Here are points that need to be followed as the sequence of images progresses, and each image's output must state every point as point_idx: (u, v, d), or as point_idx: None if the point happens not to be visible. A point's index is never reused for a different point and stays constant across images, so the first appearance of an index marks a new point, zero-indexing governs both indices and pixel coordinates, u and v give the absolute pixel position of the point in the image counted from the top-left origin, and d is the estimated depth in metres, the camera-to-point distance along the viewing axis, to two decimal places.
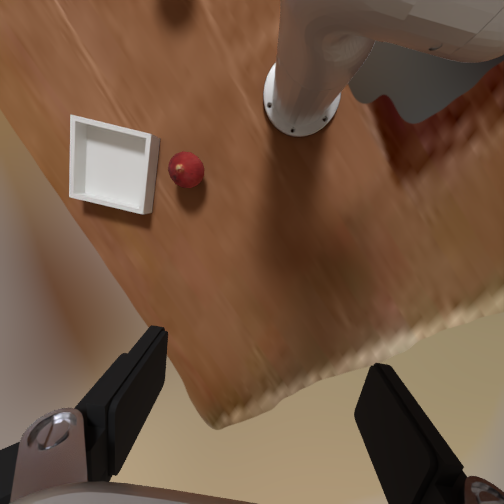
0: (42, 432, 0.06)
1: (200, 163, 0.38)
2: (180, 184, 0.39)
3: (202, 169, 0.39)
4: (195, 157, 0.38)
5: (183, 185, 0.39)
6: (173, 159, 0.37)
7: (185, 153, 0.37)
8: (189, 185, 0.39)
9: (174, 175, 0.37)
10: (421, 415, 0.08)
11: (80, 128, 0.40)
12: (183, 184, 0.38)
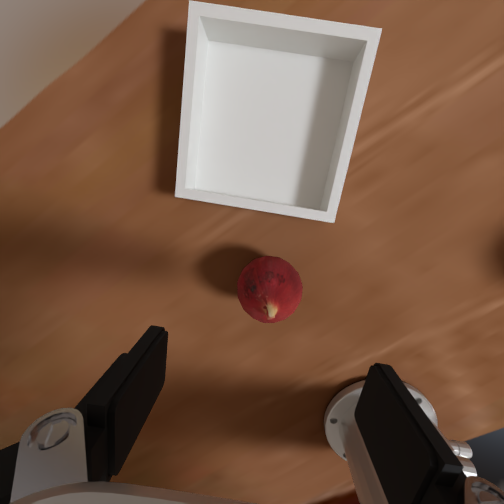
0: (42, 432, 0.06)
1: None
2: (241, 289, 0.19)
3: None
4: None
5: (239, 293, 0.20)
6: (287, 285, 0.18)
7: (299, 299, 0.20)
8: (241, 303, 0.20)
9: (257, 291, 0.18)
10: (421, 415, 0.08)
11: (348, 49, 0.17)
12: (242, 297, 0.19)
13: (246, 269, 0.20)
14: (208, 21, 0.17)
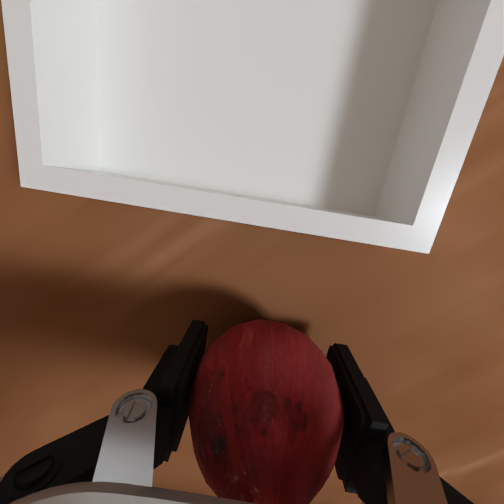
0: (124, 409, 0.07)
1: None
2: (193, 424, 0.08)
3: None
4: None
5: (190, 425, 0.08)
6: (314, 434, 0.07)
7: None
8: None
9: (228, 463, 0.06)
10: (363, 384, 0.08)
11: None
12: (195, 446, 0.08)
13: (208, 365, 0.08)
14: None
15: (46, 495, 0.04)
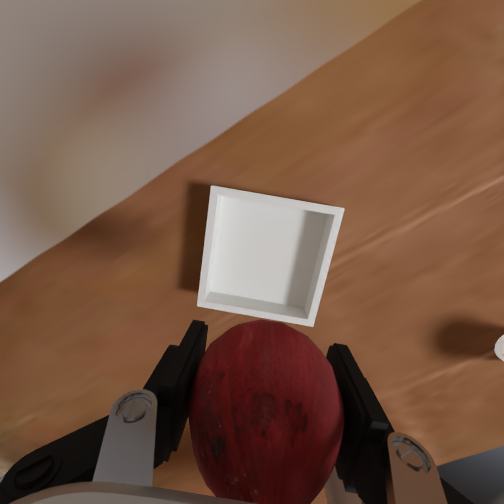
0: (125, 408, 0.07)
1: None
2: (193, 425, 0.08)
3: None
4: None
5: (190, 426, 0.08)
6: (314, 435, 0.06)
7: None
8: None
9: (228, 464, 0.06)
10: (363, 384, 0.09)
11: None
12: (194, 447, 0.08)
13: (208, 366, 0.08)
14: (223, 195, 0.24)
15: (46, 495, 0.04)
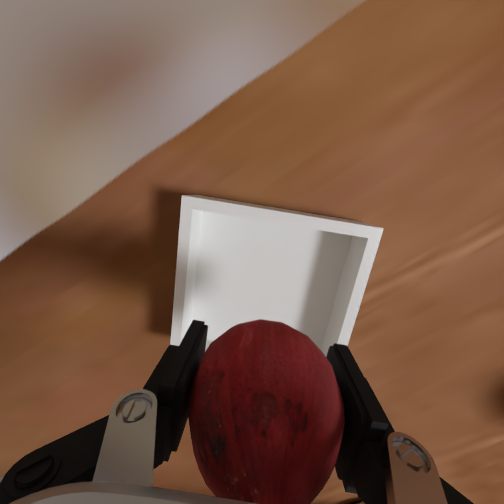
0: (125, 408, 0.07)
1: None
2: (193, 425, 0.08)
3: None
4: None
5: None
6: (314, 435, 0.06)
7: None
8: None
9: (228, 464, 0.06)
10: (363, 384, 0.09)
11: None
12: (194, 446, 0.08)
13: (208, 365, 0.08)
14: None
15: (46, 495, 0.04)
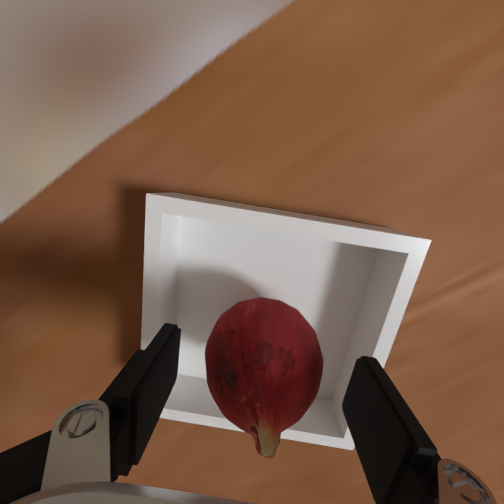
0: (71, 421, 0.06)
1: None
2: (210, 369, 0.10)
3: None
4: None
5: (207, 372, 0.11)
6: (299, 372, 0.09)
7: (318, 386, 0.10)
8: None
9: (238, 389, 0.09)
10: (401, 403, 0.08)
11: None
12: (211, 386, 0.10)
13: (221, 328, 0.11)
14: None
15: (46, 495, 0.04)
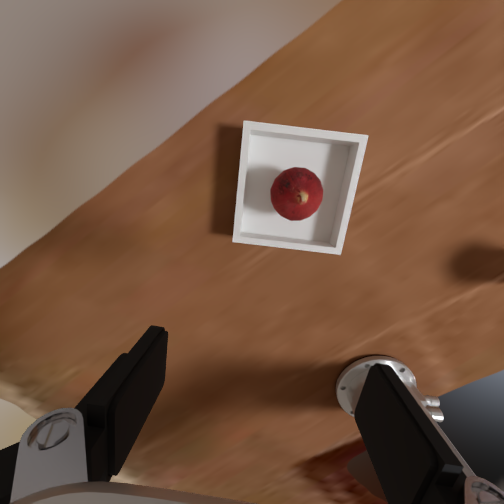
0: (42, 432, 0.06)
1: (306, 217, 0.26)
2: (276, 190, 0.24)
3: (298, 220, 0.26)
4: (315, 211, 0.26)
5: (274, 194, 0.25)
6: (313, 181, 0.23)
7: (321, 197, 0.25)
8: (275, 203, 0.25)
9: (291, 186, 0.23)
10: (421, 415, 0.08)
11: (347, 143, 0.26)
12: (277, 196, 0.24)
13: (278, 176, 0.25)
14: (255, 131, 0.26)
15: (46, 495, 0.04)
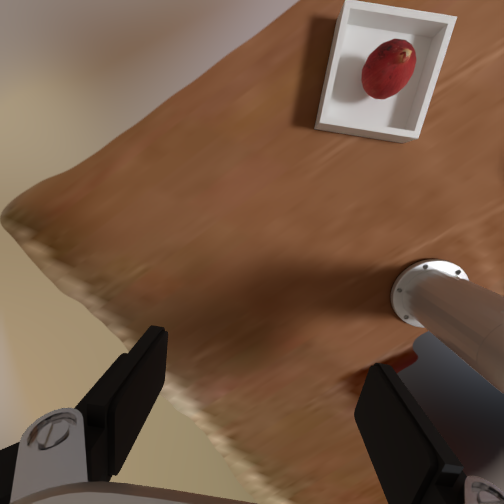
0: (42, 432, 0.06)
1: (396, 92, 0.29)
2: (374, 58, 0.27)
3: (387, 95, 0.29)
4: (405, 84, 0.28)
5: (370, 64, 0.28)
6: (412, 46, 0.26)
7: (414, 67, 0.28)
8: (370, 74, 0.28)
9: (393, 48, 0.26)
10: (421, 415, 0.08)
11: (433, 29, 0.29)
12: (375, 64, 0.27)
13: (375, 49, 0.28)
14: (353, 11, 0.29)
15: (46, 495, 0.04)
